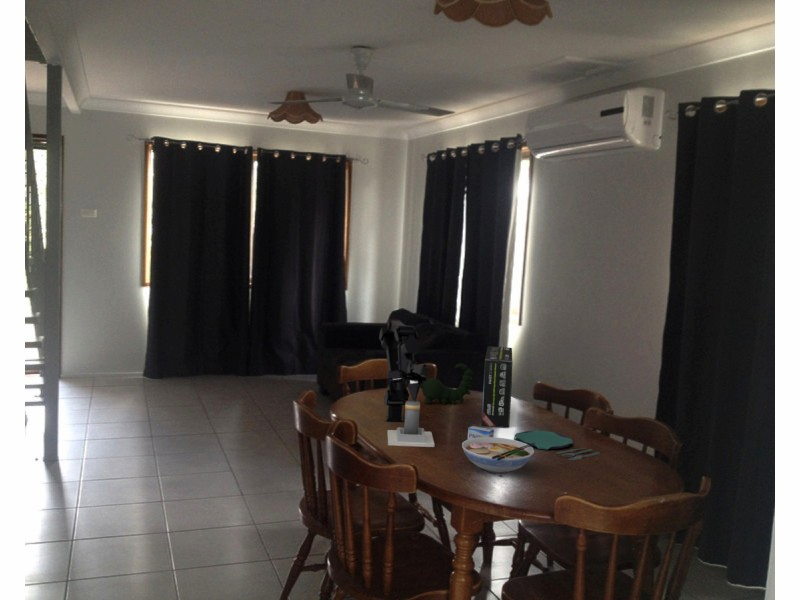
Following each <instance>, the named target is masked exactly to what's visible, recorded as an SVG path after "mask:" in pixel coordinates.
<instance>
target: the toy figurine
mask: <svg viewBox="0 0 800 600" xmlns="http://www.w3.org/2000/svg"><path fill="white" fill-rule="evenodd" d="M459 368H460V369H461V370H462V371H464V373H463V375H462V380H460V385H459V386H458V387H457V388H450V387H448V386H446V385H444V384H443V383H442V382H441V381H440V380H439V379H438V378H434V377H433V378H428V379H426V382H425V383H424V384H423V385H422V386H421V387H420V388H419V389H421V392H422V395H423V396H424V397H425V399H424V402H425V403H426V404H428V405H431V404H432V403H433V401H436V400H438V401H439V402H441V404H442V405H443V404H444V405H445V404H447V403H451V405H453V404H454V405H455V404H456V403H457V401H459V402H460V403H464V401H465V398H464V397H465V395H468V396H469V395H471V391H470V390H469V388H472V386H473V385H472V384H471V381H473V380H474V379H473V377H472V375H474V372H473V371H472V369H470V368H468V366H467V365H466V364H465V363H457V364H456V365H455V366H454V370H455V369H459Z"/></svg>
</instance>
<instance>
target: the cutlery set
mask: <svg viewBox="0 0 800 600" xmlns="http://www.w3.org/2000/svg"><path fill="white" fill-rule="evenodd" d="M516 439H517V440H516ZM513 440H516V441H519V442H522V443H525V444H531V443H533V444H534V443H536V444H534V445H532V444H531V447H533V448H537V449H539V450H545V451H548V450H549V449H553V450H554V449H555V450H557V449H563V448H567V447H569V446H572V447H573V446H574V441H573V439H572V438H570V437H567V436H565V435H563V434H560V433H557V432H553V431H549V430H541V429H540V430H538V429H535V430H527V431H522V432H515V434H514V437H513ZM580 450H582V451H580ZM576 451H578V452H576ZM579 451H580V452H579ZM573 452H575V453H573ZM589 452H591V453H590V454H586V455H583V453H584V454H585V453H589ZM592 452H593V449H592V448H589V449H586V447H582V448H576V449H574V448H572V449H569V450H563V451H558V452H556V453H555V455H556V454H557V455H561V457H563V458H566V456H568V460H569V461H577V460H582V459H583V458H589V457H594V456H600V455H601V453H600V451H596V452H593V453H592Z"/></svg>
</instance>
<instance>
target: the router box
mask: <svg viewBox="0 0 800 600" xmlns="http://www.w3.org/2000/svg"><path fill="white" fill-rule="evenodd" d="M484 358H485V359H484V368H483V369H484V370H483V372H484V374H483V386H482V390H483V391H482V407H481V409H482V411H481V413H482V415H481V426H485V427H493V428H506V427H507V429H508V428H509V429H510V421H511V420H510V419H511V408H512V407H511V406H512V404H511V403H512V385H513V383H512V382H513V348H512V347H506V346H505V347H504V346H495V345H494V346H493V345H491V346H490V345H489V346H487V349H486V353H485V357H484Z"/></svg>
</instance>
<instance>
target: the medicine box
mask: <svg viewBox="0 0 800 600" xmlns="http://www.w3.org/2000/svg"><path fill="white" fill-rule="evenodd" d="M494 434H495V429H492V428H487V427H481V426H478V425H472V426H469V427H468V430H467V439H472V438H478V437H494Z"/></svg>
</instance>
